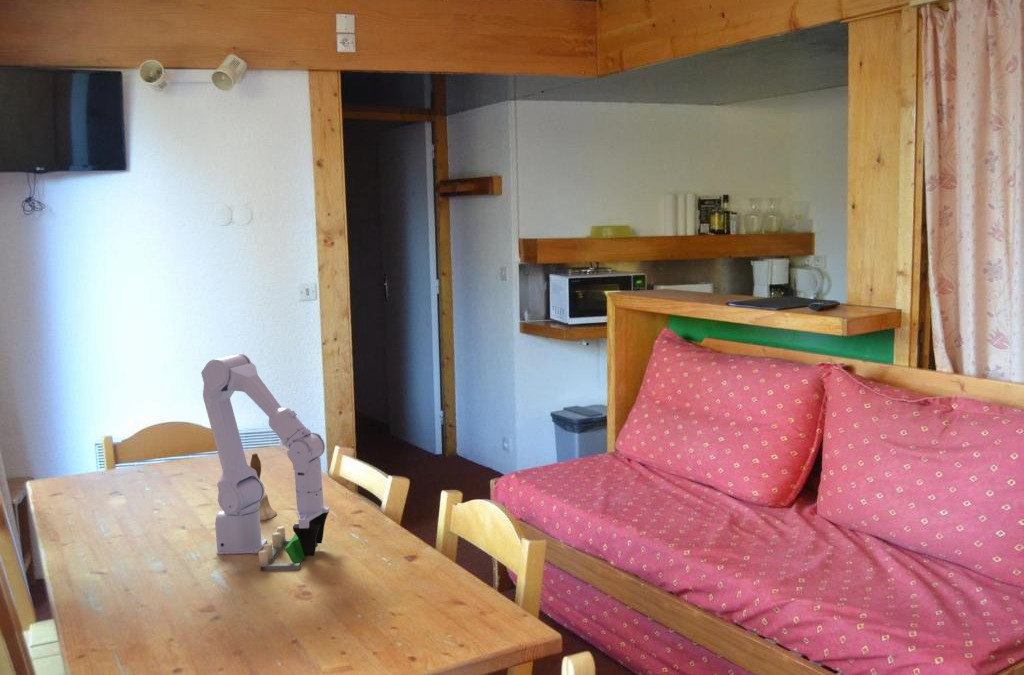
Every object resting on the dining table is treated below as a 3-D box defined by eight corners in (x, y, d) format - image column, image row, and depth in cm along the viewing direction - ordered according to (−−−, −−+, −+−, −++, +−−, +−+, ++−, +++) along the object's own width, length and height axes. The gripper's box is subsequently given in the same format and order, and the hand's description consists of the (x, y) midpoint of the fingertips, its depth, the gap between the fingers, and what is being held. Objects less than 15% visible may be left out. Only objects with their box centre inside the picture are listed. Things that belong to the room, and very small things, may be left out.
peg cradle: (258, 571, 205) (257, 553, 205) (278, 543, 222) (277, 526, 222) (298, 570, 205) (297, 552, 205) (315, 542, 222) (314, 525, 221)
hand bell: (235, 519, 240) (231, 457, 238) (256, 509, 248) (251, 448, 246) (263, 522, 237) (258, 459, 235) (283, 512, 245) (279, 451, 243)
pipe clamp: (310, 559, 208) (299, 541, 207) (295, 567, 208) (284, 549, 207) (321, 540, 219) (310, 523, 218) (306, 548, 219) (296, 531, 219)
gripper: (320, 498, 204) (324, 560, 206) (333, 479, 218) (337, 537, 220) (287, 500, 204) (291, 561, 206) (302, 480, 219) (306, 538, 220)
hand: (313, 549), depth 213 cm, fingers open, 7 cm apart
